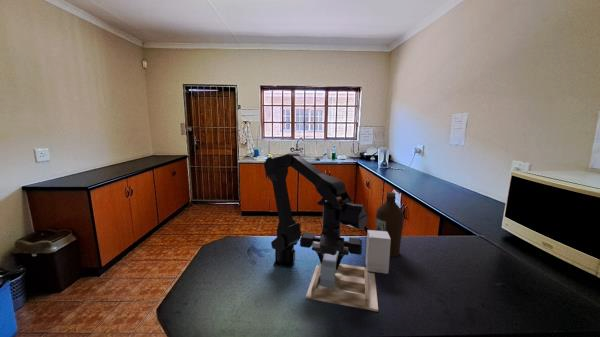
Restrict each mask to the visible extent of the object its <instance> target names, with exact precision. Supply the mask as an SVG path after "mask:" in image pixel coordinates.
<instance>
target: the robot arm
mask: <svg viewBox="0 0 600 337" xmlns="http://www.w3.org/2000/svg"><path fill="white" fill-rule="evenodd" d="M263 167H264V172H265V174H266V176H267V178H268V179H269V180H270V181H271V184H272V187H273V194H274V199H275V205H276V212H277V216H278V225H277V227H276V237H275V238H274V239H273V240H272V241H271V242H270V243H271V248H272V249H273V250H275V253H274V254H275V256H274V257H275V258H274V260H275V261H274V262H273V266H278V267H285V268H291V267H292V266H293V265H294V263H295V261H296V250H295V246H296V245H297V244H298V242H299V247H301V248H307V249H309V248H311V251H314V252H315V253H316V254H317V256H318V259H319V264H320V263H321V264H322V260H323V257H324V254H331V255H336V254H337V251H338V258H337V264H336V270H337V269H338V267H339V264H341V261H342V259H343V258H344V256H349V253H350V255H351V254H352V255H362V251H363V250H362V249H363V240H362V239H361V238H359V237H350V236H349V237H348V240H345V238H344V237H341V232H342V225H343V226H346V227H350V228H353V229H357V230H360V231H361V230H364V228H366V225H367V222H368V213H367V211H366V209H365V207H366V206H365V204H358V203H353V200H352V198H351V196H350V195H349V192H348V191H347V190H346V189H347V188H346V183H344V181H342V180H340V179H339V178H336V177H335V176H331V175H328V174H326V173H324V172H322V171H321V170H319V169H318V167H315V166H314V165H313V164H312V163H310V162H308V161H307V159H305V158H304V157H303V156H301V155H300V154H299V153H297V152H291V153H289V152H288V153H286V154H284V155H280V156H270V157H267V158H266V159H265V161H264V162H263ZM289 168H292V169H293V170H295V171H296V172H297V173H299V174H300V175H301V176H302V177H303V178H305V179H306V180H307V181H308V182H310V183H311V184H312V185H314V187H315V190H316V192H317V193H318V194H319V196H320V197H321V199H320V200H319V201H317V202H316V205H318V206H322V227H321V228H322V229H321V233H320V235H319V237H318V236H317V235H316V233H315V232H308V231H304V232H303V231H302V230H301V223H300V222H296V221H295V219H293V213H292V207H291V201H290V197H289V196H290V195H289V192H288V185H287V176H288V174H289ZM338 199H339V200H338ZM302 232H303V234H302ZM316 236H317V237H316Z"/></svg>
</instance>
